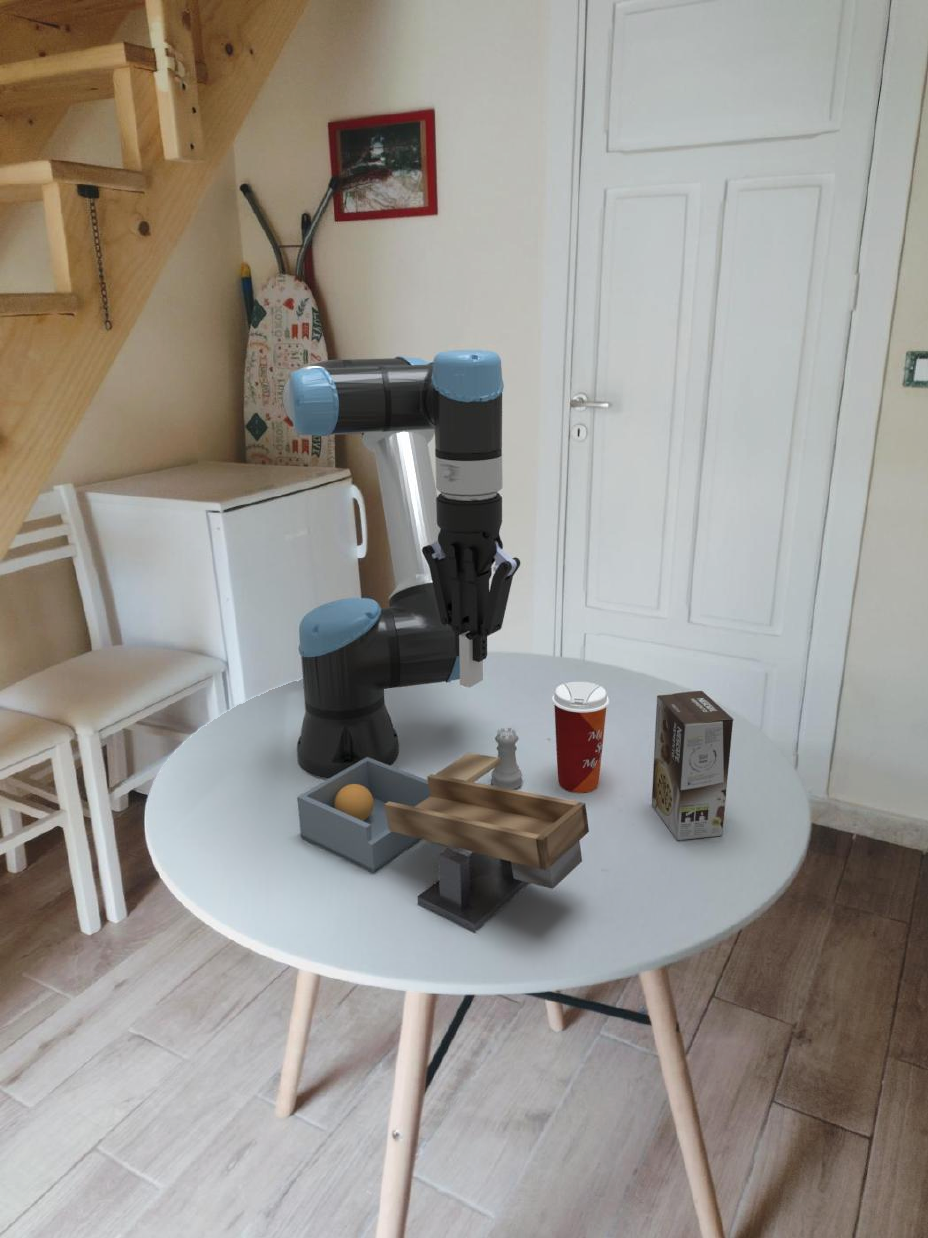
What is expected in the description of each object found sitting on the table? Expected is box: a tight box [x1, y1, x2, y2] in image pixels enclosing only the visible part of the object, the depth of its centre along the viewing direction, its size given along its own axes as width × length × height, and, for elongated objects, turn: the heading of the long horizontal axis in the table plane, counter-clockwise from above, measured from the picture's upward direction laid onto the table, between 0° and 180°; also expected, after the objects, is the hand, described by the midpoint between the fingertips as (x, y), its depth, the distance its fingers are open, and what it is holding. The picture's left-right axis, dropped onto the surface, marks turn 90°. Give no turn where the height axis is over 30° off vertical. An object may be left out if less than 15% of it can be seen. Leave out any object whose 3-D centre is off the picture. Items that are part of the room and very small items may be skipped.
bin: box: [296, 757, 430, 874], centre depth 110 cm, size 13×13×6 cm
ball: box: [334, 784, 374, 821], centre depth 112 cm, size 5×5×5 cm
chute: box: [384, 752, 590, 890], centre depth 101 cm, size 22×16×6 cm
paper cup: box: [551, 681, 610, 794], centre depth 120 cm, size 8×8×14 cm
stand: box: [417, 847, 530, 933], centre depth 100 cm, size 8×15×7 cm, turn 142°
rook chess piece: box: [490, 727, 524, 790], centre depth 121 cm, size 4×4×8 cm
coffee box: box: [651, 690, 735, 841], centre depth 110 cm, size 9×6×16 cm
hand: (471, 682), depth 107 cm, fingers closed
